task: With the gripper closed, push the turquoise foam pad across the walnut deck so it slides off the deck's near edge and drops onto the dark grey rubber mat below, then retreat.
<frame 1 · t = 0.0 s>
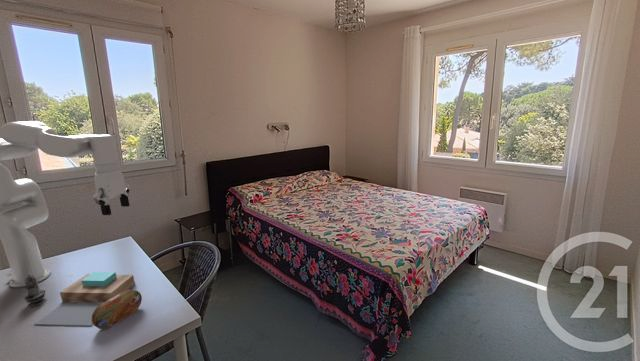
hand: (116, 210, 113), 31 cm above the table, fingers open, 9 cm apart
grey chess piece: (37, 303, 108), on the table
turquoise foam pad: (100, 281, 113), point 4 cm above the table, touching deck
deck: (100, 292, 113), on the table
mat: (77, 314, 101), on the table
tin: (120, 319, 99), on the table
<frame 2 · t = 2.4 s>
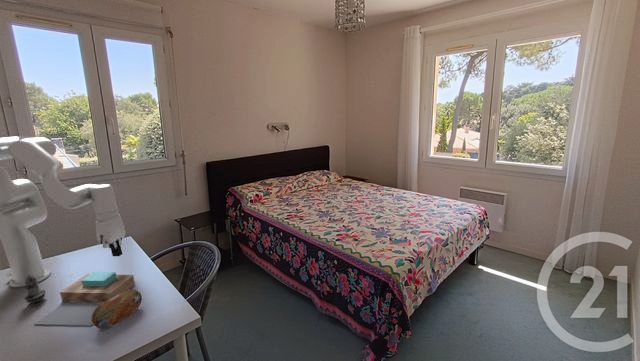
hand: (117, 255, 122), 10 cm above the table, fingers closed
nothing on the table moved.
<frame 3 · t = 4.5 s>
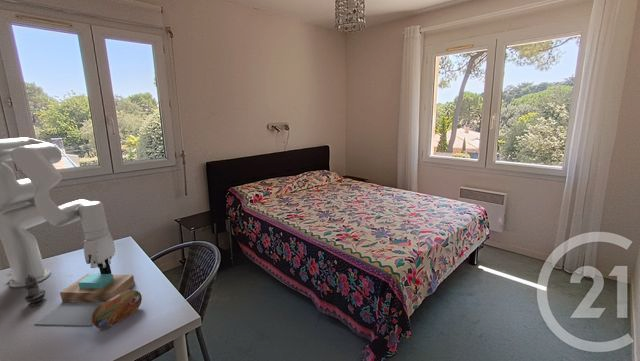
hand: (106, 274, 116), 5 cm above the table, fingers closed
turquoise foam pad: (97, 283, 112), point 4 cm above the table, touching gripper
everything else where it was.
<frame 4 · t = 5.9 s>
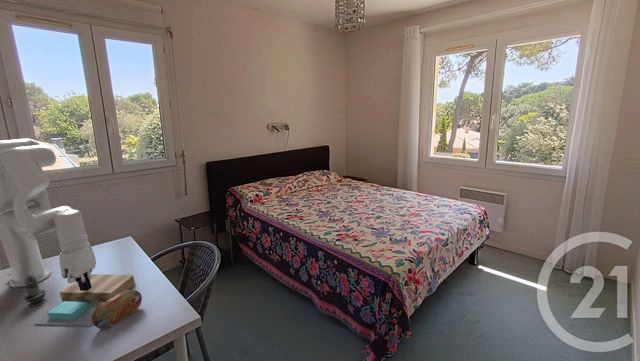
hand: (85, 289, 107), 5 cm above the table, fingers closed
turquoise foam pad: (67, 307, 101), point 3 cm above the table, tilted 180°, touching mat
everything else where it was.
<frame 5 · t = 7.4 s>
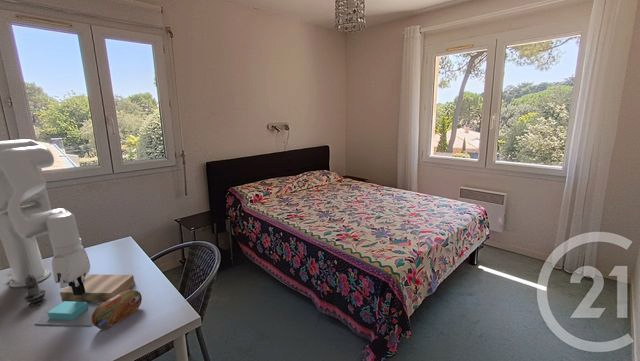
hand: (79, 293, 104), 5 cm above the table, fingers closed
nothing on the table moved.
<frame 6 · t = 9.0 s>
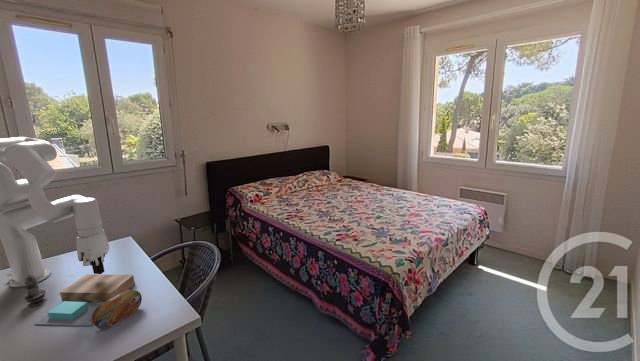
hand: (99, 272, 114), 7 cm above the table, fingers closed
nothing on the table moved.
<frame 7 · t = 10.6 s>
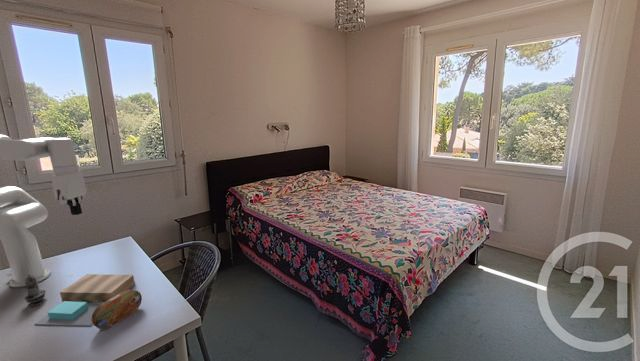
hand: (76, 213, 117), 29 cm above the table, fingers closed
nothing on the table moved.
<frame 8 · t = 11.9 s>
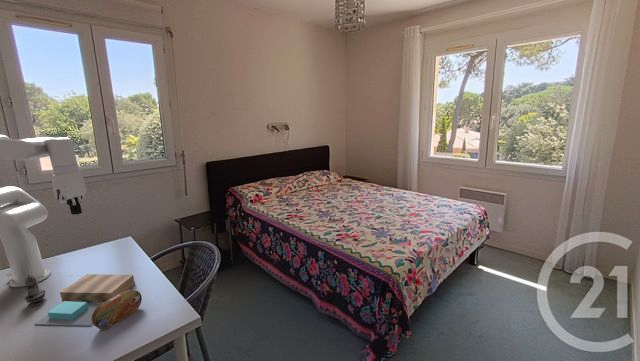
hand: (76, 213, 117), 29 cm above the table, fingers closed
nothing on the table moved.
at the end: turquoise foam pad point 2.8 cm above the table; turquoise foam pad inside the target area on the mat (2.8 cm from its centre), point 2.8 cm above the mat's base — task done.
